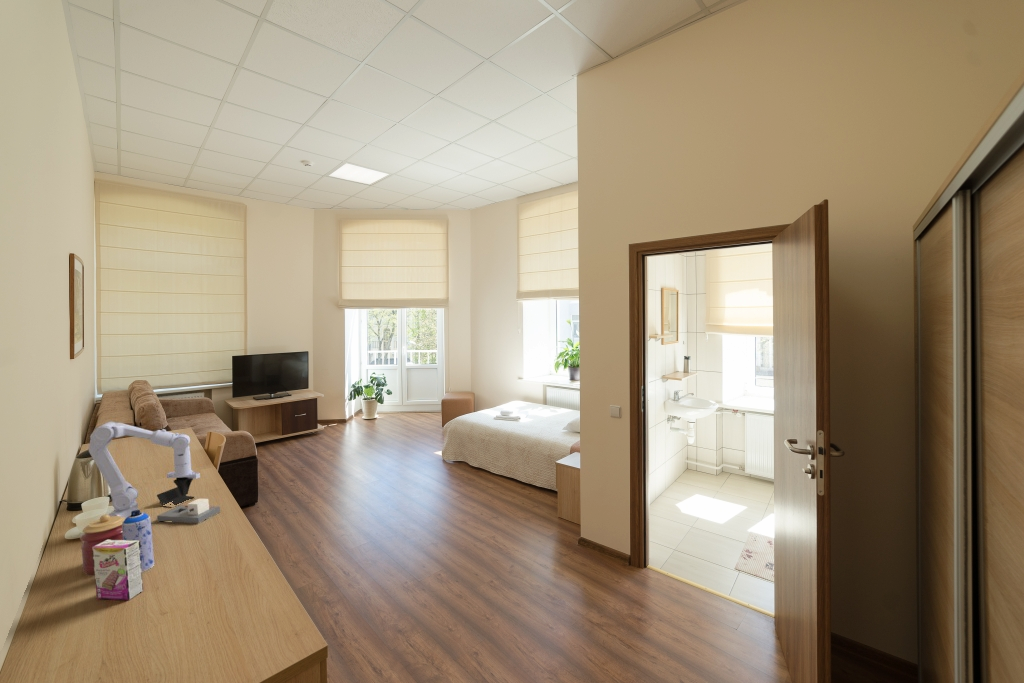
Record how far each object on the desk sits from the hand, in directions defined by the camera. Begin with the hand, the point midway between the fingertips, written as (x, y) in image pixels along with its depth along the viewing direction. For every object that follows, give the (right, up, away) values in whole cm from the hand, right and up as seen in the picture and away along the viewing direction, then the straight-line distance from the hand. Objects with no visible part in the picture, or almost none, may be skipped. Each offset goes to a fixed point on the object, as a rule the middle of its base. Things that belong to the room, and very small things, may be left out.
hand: (184, 494), depth 192 cm
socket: (+2, -10, 0) cm, 10 cm away
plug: (+7, -9, -1) cm, 11 cm away
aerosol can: (+14, -12, -40) cm, 44 cm away
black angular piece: (-17, -10, +18) cm, 26 cm away
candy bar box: (+21, -12, -55) cm, 61 cm away
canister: (+1, -12, -37) cm, 39 cm away
